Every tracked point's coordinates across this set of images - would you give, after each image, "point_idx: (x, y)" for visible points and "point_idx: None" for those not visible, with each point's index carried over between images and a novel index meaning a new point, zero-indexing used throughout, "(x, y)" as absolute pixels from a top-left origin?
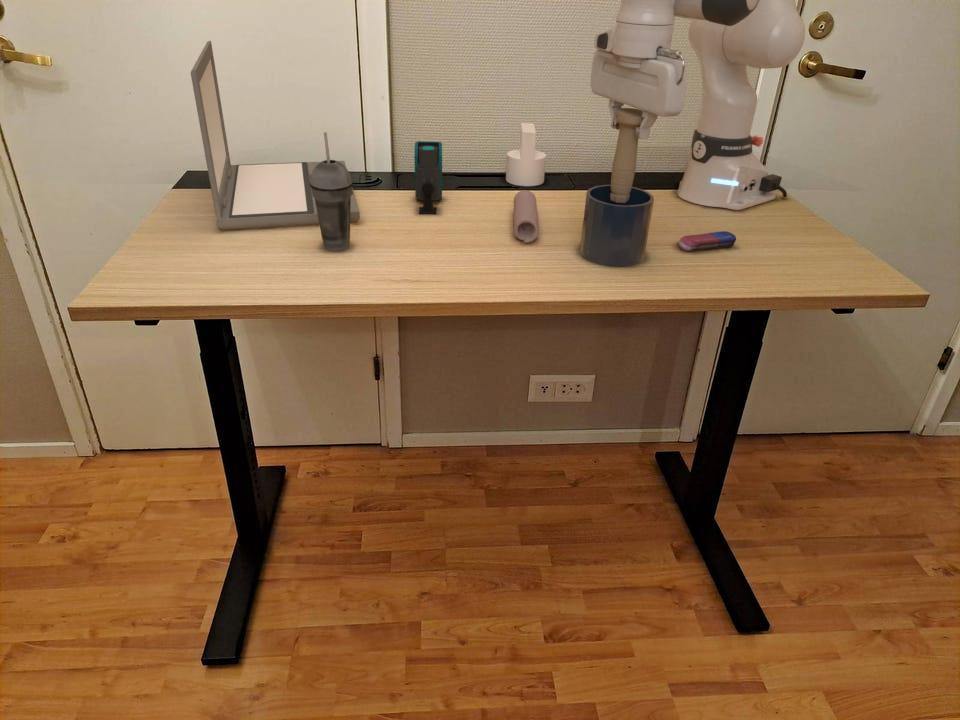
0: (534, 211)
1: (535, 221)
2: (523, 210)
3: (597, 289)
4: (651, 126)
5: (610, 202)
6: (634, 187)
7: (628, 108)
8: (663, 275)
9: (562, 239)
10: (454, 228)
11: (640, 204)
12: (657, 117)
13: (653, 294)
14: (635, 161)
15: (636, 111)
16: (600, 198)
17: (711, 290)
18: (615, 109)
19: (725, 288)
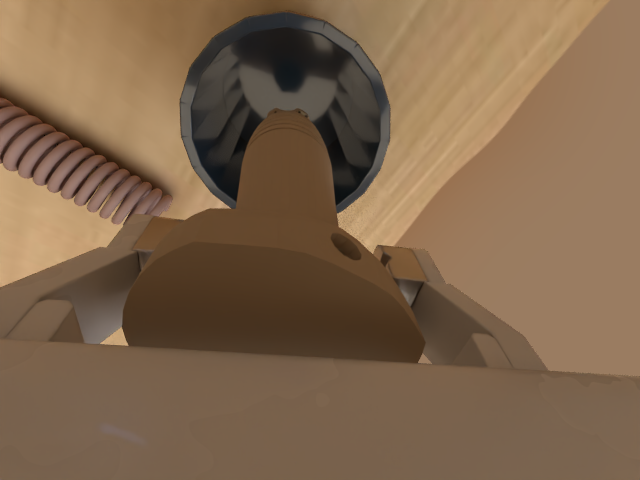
0: (83, 173)
1: (148, 207)
2: (84, 201)
3: (378, 224)
4: (457, 292)
5: (210, 73)
6: (250, 22)
7: (152, 294)
8: (425, 88)
9: (173, 131)
10: (55, 262)
11: (379, 149)
12: (526, 340)
13: (450, 167)
14: (331, 172)
15: (276, 307)
16: (200, 112)
17: (529, 60)
18: (88, 328)
19: (552, 22)
